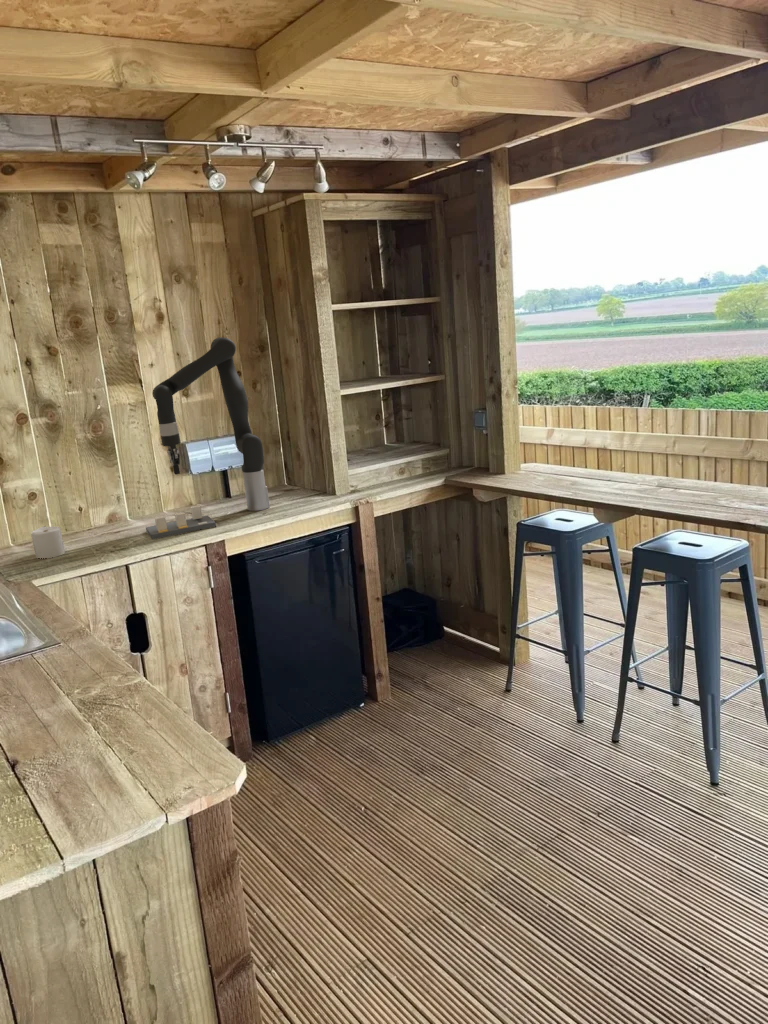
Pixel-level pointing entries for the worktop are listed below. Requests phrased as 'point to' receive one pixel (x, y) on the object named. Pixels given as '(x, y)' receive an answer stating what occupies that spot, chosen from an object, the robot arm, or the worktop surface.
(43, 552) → the toilet tissue
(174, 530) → the switch board
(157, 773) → the worktop surface
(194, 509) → the slider
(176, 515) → the slider middle
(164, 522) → the slider
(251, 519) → the worktop surface
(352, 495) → the worktop surface
